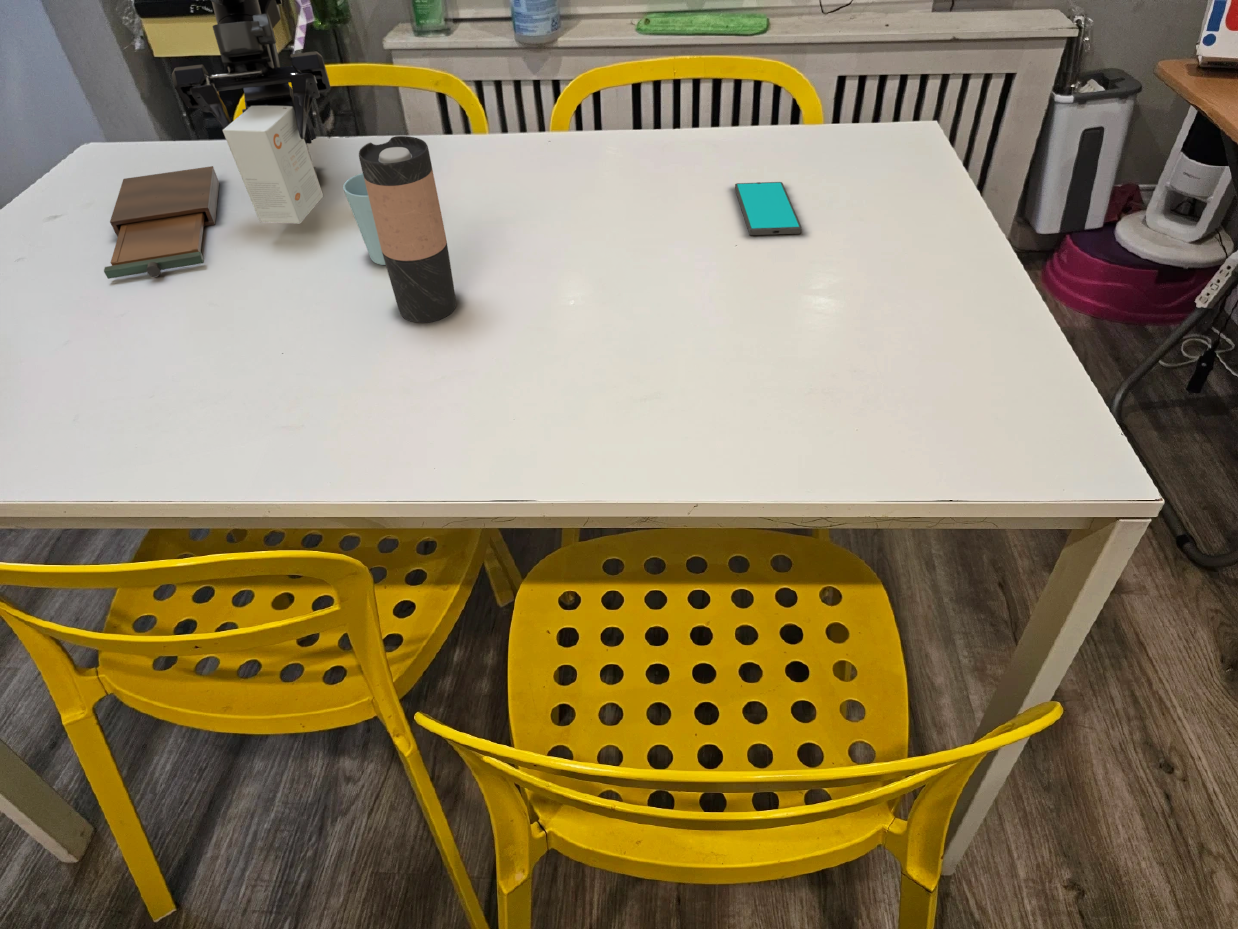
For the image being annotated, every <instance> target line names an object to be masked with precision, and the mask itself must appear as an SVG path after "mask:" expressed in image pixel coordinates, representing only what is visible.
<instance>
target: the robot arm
mask: <svg viewBox="0 0 1238 929" xmlns="http://www.w3.org/2000/svg"><path fill="white" fill-rule="evenodd" d="M210 1H211V4H212V8H213V12H214V16H215V21H216V24H214V25H212V30H213V34H214V38H215V41H216V44H217V47H218V50H219V54H220V58H221V62H222V65H223V66H224V68H227V70H228V72H227V73H217V74H209V73H208V71H207V69H206V67H205V66H204V64H195V65H187V66H178V67H177V66H176V67H175V68H174V69H173V71H172V73H171V80H172V83H173V87H174V89H175V91H176V92H177V94H178V95H179V96H180V98H181V100H183V102H184V103H185V105H186V107H187V108H191V109H198V108H199V109H200V110H201V111H202V112H204V113H211V114H212V115H213V116H214V117H215V119H216V120H217V121H218V122H219V124H220V125H221V127H222V130H223V129H225V128H226V127H227V126H228V125H229V124H231V123H232V120H231V118H230V115H229V112H228V110H227V107H226V105H225V103H224V102H223V100H222V98H221V97H220V92H223V91H224V92H225V91H233V90H240V89H243V98H244V106H245V108H243V109H242V110H241V112H242V113H244V112H245V111H246V110H247V109H248V108H249V107H250V106H292V107H293V108H294V111H295V114H296V122H297V127H298V131H299V135H300V138H301V139H304V140H305V143H306V146H307V149H308V152H309V155H310V158H311V161H312V164H313V167H314V170H315V173H316V176H317V168H316V166H314V163H313V160H312V157H311V153H310V150H309V146H308V145H310V144H313V141H314V140H316V139H317V135H316V133H315V129H314V125H313V122H312V119H311V116H310V114H309V113H310V110H311V107H312V104H313V101H314V99H319V98H320V97H321V94H320V93H326V92H328V91H330V90H331V89H332V87H331V83H330V78H329V74H328V71H327V68H326V65H325V61H324V57H323V55H321V53H319V52H318V51H307V52H300V53H299V52H298V53H291V54H290V60H291V65H286V66H285V65H284V66H281V63H280V59H279V54H278V49H277V40H276V36H275V32H274V28H275V27H276V25H277V24H278V23H279V22H280V21H281V20H282V17H281V10H280V6H281V5H283V0H210ZM317 177H318V176H317Z"/></svg>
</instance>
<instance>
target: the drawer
mask: <svg viewBox="0 0 1238 929" xmlns="http://www.w3.org/2000/svg"><path fill="white" fill-rule="evenodd" d="M204 219H205V215H204V213H203V212H198V213H191V214H184V215H178V216H171V217H165V218H158V219H152V220H145V221H139V222H132V223H125V224H122V225H121V228H120V232H119V235H118V237H117V238H116V242H115V246H114V249H113V252H112V256H111V260H110V265H108V266H104V268H103V273H104V275H105V276H106V278H107V279H108V280H109V279H115V278H122V277H126V276H132V275H133V276H135V275H140V274H145V273H147V275H148V276H150V277H153V278H156V277H159V276H160V275H161V271H164V270H170V269H177V268H181V267H183V268H184V267H187V266H194V265H201V264H204V261H205V258H204V256H203V254H202V251H201V249H202V243H203V233H204V227H205V226H204Z"/></svg>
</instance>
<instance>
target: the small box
mask: <svg viewBox="0 0 1238 929" xmlns="http://www.w3.org/2000/svg"><path fill="white" fill-rule="evenodd" d="M222 133H223V135H224V138H225V140H226V142H227V145H228V149H229V150H230V152H231V155H232V158H233V160H234V162H235V165H236V167H237V169H238V172H239V175H240V177H241V180H242V181H243V182H242V183H243V184H244V186H245V189H246V191H247V194H248V196H249V200H250V201H251V204H252V206H253V208H254V211H255V213H256V216H257V218H258V220H259V222H260V223H267V224H268V223H269V224H271V223H272V224H274V223H275V224H295V225H297V224H301V223H302V222H303V221H304V220H305V218H306V217H307V216H308V215H309V214H310V213H311V211H312V210H313V209H314V208H315V207H316V206H317V204H318V203H319V202H320V201H321V200H322V199H323V198H324V194H323V191H322V188H321V185H320V182H319V179H318V176H316V175H317V172H316V173H315V170H314V167H315V166H314V163H313V160H312V161H311V159H312V157H311V158H310V156H311V154H310V155H309V153H310V151H309V152H308V149H309V148H308V149H307V146H308V145H307V146H306V143H305V140H304V139H301V138H300V135H299V131H298V127H297V122H296V114H295V111H294V108H293V107H292V106H250V107H249V108H248V109H247V110H246V111H245V112H244V113H243V112H242V113H241V114H240V115H239V116H237V117H236V118H235V119H234V120H233V121H231V124H229V125H228V126H227V127H226V128H225V129H223V128H222ZM312 163H313V164H312ZM313 166H314V167H313Z"/></svg>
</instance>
